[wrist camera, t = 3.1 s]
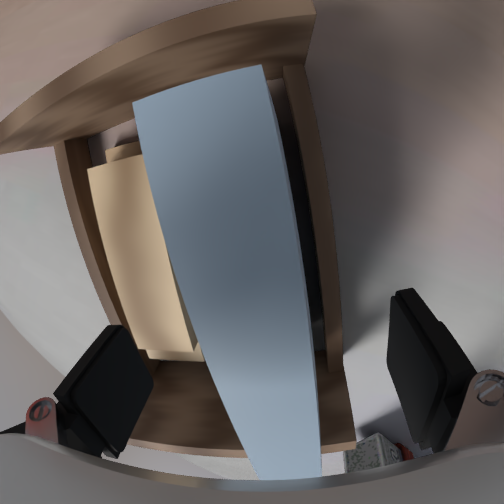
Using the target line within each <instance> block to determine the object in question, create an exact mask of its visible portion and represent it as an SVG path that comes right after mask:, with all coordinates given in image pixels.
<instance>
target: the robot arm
mask: <svg viewBox="0 0 504 504" xmlns="http://www.w3.org/2000/svg"><path fill="white" fill-rule="evenodd" d="M387 367H388V370H389V372H390V375H391V378H392V380H393V383H394V386H395V388H396V391H397V394H398V397H399V400H400V403H401V406H402V408H403V411H404V414H405V417H406V420H407V424H408V427H409V430H410V433H411V436H412V439H413V442H414V443H418V442H419V445H420V448H421V450H423V449H427V448H429V447H432V450H433V452H434V454H430V455H426V456H423V457H419V458H415V459H411V460H407V461H403V462H399V463H395V464H391V465H387V466H382V467H378V468H373V469H368V470H362V471H357V472H351V473H344V474H338V475H330V476H323V477H313V478H302V479H287V480H227V479H212V478H201V477H192V476H184V475H176V474H169V473H164V472H158V471H153V470H147V469H142V468H138V467H133V466H129V465H125V464H121V463H117V462H113V461H109V460H106V459H102V457H101V454H102V452H103V453H104V454H105V455H106V456H108V457H112V458H115V459H118V457H119V454H120V452H122V451H123V450H124V449H125V447H126V444H127V442H128V440H129V438H130V436H131V434H132V431H133V429H134V427H135V425H136V423H137V421H138V419H139V417H140V414H141V412H142V410H143V408H144V406H145V404H146V402H147V400H148V398H149V396H150V393H151V391H152V389H153V387H154V381H153V378H152V377H151V375H150V373H149V371H148V369H147V367H146V365H145V363H144V361H143V360H142V358H141V356H140V354H139V352H138V350H137V348H136V346H135V344H134V342H133V339H132V337H131V335H130V333H129V331H128V330H127V329H126V328H125V327H124V326H123V325H108V326H107V327H106V328H105V329H104V330H103V331H102V333H101V334H100V335H99V336H98V337H97V339H96V340H95V341H94V342H93V343H92V345H91V346H90V347H89V348H88V349H87V351H86V352H85V353H84V354H83V356H82V357H81V358H80V359H79V361H78V362H77V363H76V364H75V366H74V367H73V368H72V370H71V371H70V372H69V373H68V375H67V376H66V377H65V379H64V380H63V381H62V383H61V384H60V385H59V386H58V388H57V389H56V390H55V392H54V393H53V394H54V396H55V397H56V398H57V399H58V401H59V402H58V403H57V404H56V403H55V401H54V400H53V399H51V398H49V397H44V398H40V399H39V400H37V401H35V402H34V403H33V404H32V405H31V406H30V407H29V409H28V411H27V413H26V422H24V423H21V424H19V425H16V426H14V427H12V428H9V429H7V430H4V431H2V432H0V504H504V373H503V372H501V371H498V370H490V369H489V370H484V371H481V372H480V373H477V371H476V370H475V368H474V367H473V365H472V364H471V362H470V361H469V359H468V358H467V356H466V355H465V353H464V352H463V350H462V349H461V347H460V346H459V344H458V343H457V341H456V340H455V339H454V337H453V336H452V334H451V333H450V332H449V330H448V329H447V327H446V326H445V325H444V324H443V323H442V322H441V321H438V320H437V318H436V317H435V316H434V314H433V313H432V312H431V310H430V309H429V308H428V306H427V305H426V304H425V302H424V301H423V300H422V298H421V297H420V296H419V295H418V293H417V292H416V291H415V289H413V288H409V289H404V290H399V291H397V292H396V294H395V296H392V297H391V301H390V322H389V337H388V348H387Z"/></svg>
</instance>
